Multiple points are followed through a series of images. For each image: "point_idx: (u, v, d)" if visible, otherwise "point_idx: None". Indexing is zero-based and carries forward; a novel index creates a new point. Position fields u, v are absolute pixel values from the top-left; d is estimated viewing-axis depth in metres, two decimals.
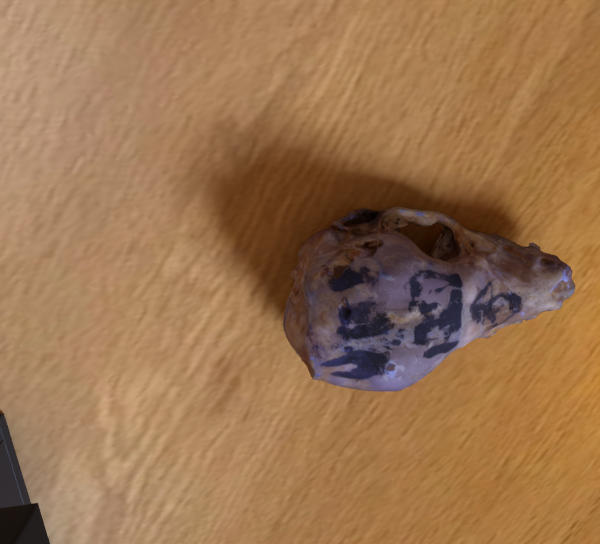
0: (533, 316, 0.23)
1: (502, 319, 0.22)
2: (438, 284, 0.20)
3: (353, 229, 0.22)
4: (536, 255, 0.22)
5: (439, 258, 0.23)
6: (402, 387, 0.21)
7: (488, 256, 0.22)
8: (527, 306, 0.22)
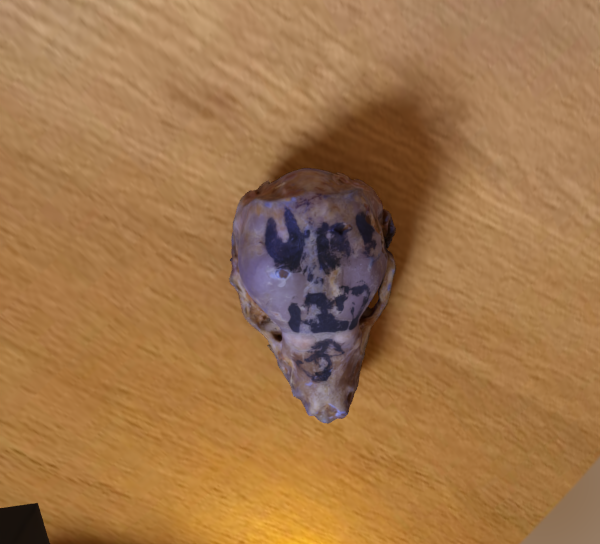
0: (302, 393, 0.26)
1: (305, 367, 0.25)
2: (356, 309, 0.22)
3: (385, 230, 0.24)
4: (354, 387, 0.26)
5: None
6: (254, 286, 0.22)
7: (359, 348, 0.25)
8: (317, 387, 0.25)
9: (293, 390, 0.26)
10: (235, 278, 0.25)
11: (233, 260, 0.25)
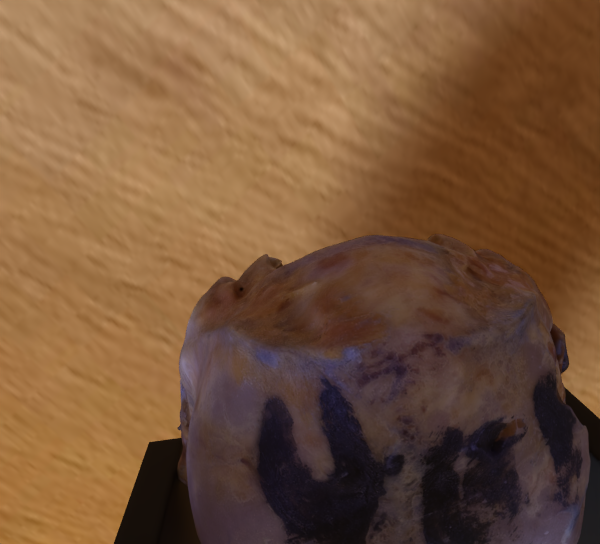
0: None
1: None
2: None
3: None
4: None
5: None
6: None
7: None
8: None
9: None
10: None
11: (184, 435, 0.10)
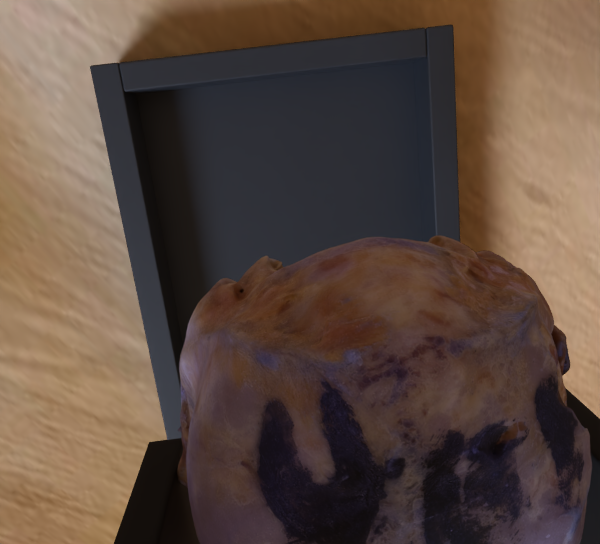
0: None
1: None
2: None
3: None
4: None
5: None
6: None
7: None
8: None
9: None
10: None
11: (184, 437, 0.10)
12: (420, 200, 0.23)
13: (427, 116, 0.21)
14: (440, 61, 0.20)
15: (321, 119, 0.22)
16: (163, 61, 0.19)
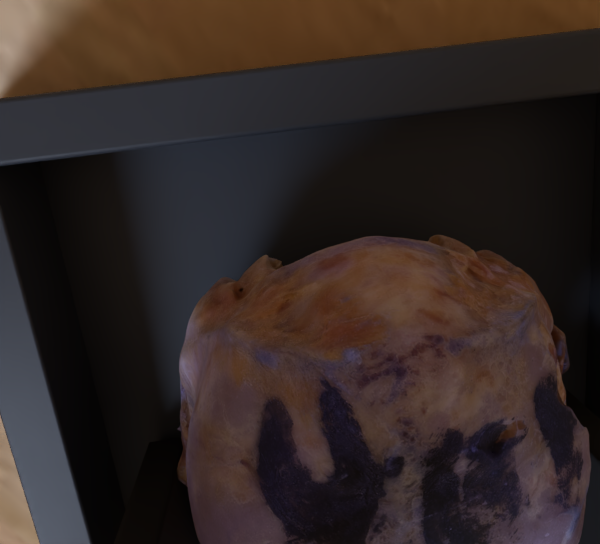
0: None
1: None
2: None
3: None
4: None
5: None
6: None
7: None
8: None
9: None
10: None
11: (183, 436, 0.10)
12: (587, 345, 0.12)
13: None
14: None
15: (410, 202, 0.11)
16: (78, 98, 0.08)
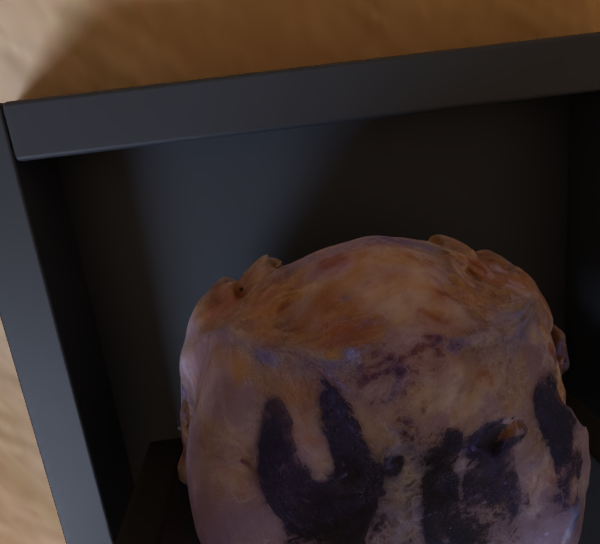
0: None
1: None
2: None
3: None
4: None
5: None
6: None
7: None
8: None
9: None
10: None
11: (184, 436, 0.10)
12: (564, 329, 0.13)
13: None
14: None
15: (398, 195, 0.12)
16: (95, 99, 0.09)
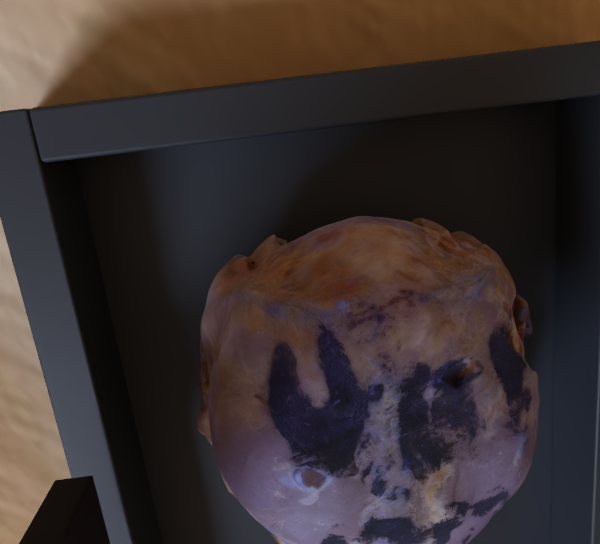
0: None
1: None
2: (474, 534, 0.10)
3: (519, 338, 0.11)
4: None
5: None
6: (243, 492, 0.09)
7: None
8: None
9: None
10: (207, 421, 0.13)
11: (203, 391, 0.12)
12: (553, 322, 0.14)
13: (594, 197, 0.12)
14: None
15: (395, 194, 0.13)
16: (114, 105, 0.10)
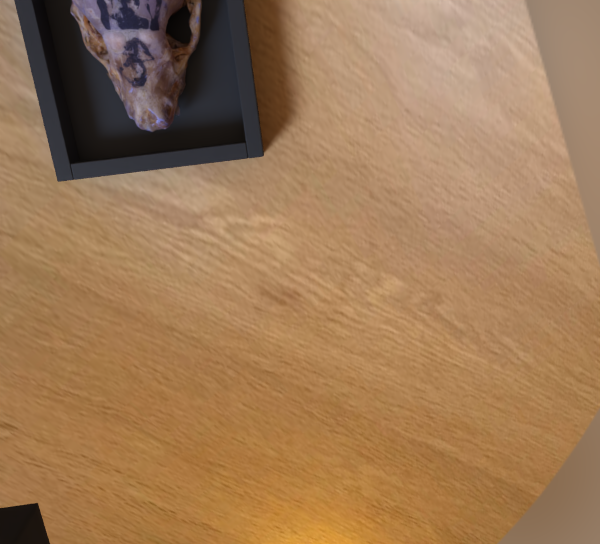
0: (129, 102, 0.32)
1: (126, 73, 0.31)
2: (152, 8, 0.29)
3: None
4: (173, 103, 0.33)
5: None
6: None
7: (171, 64, 0.32)
8: (137, 92, 0.32)
9: (125, 107, 0.33)
10: (74, 9, 0.32)
11: None
12: None
13: None
14: None
15: None
16: None
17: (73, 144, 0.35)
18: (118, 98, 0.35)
